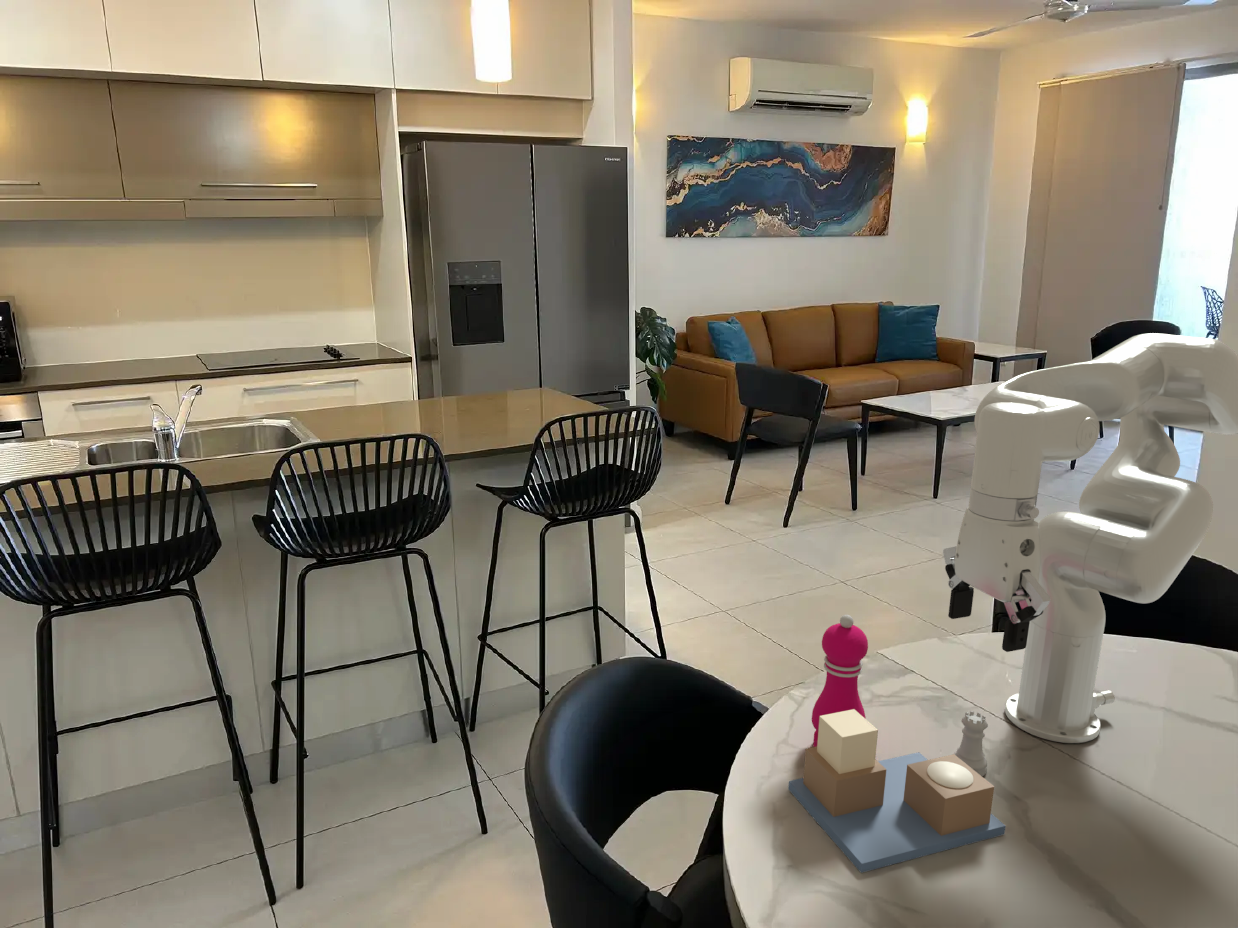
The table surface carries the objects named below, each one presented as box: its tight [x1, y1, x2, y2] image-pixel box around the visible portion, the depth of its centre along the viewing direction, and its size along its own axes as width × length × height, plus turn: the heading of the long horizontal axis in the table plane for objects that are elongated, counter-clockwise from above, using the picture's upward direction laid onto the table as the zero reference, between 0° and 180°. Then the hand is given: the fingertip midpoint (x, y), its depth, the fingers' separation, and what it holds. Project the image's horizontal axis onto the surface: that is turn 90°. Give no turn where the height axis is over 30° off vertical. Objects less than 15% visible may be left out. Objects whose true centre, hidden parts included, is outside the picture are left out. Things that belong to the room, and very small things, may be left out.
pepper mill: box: [811, 614, 869, 747], centre depth 119 cm, size 7×7×20 cm
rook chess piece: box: [953, 710, 989, 777], centre depth 116 cm, size 4×4×8 cm
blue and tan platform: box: [787, 709, 1006, 874], centre depth 107 cm, size 20×16×11 cm
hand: (985, 632), depth 112 cm, fingers open, 9 cm apart
